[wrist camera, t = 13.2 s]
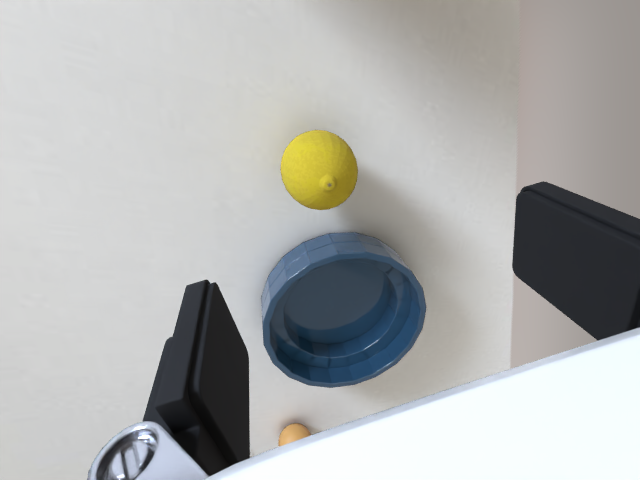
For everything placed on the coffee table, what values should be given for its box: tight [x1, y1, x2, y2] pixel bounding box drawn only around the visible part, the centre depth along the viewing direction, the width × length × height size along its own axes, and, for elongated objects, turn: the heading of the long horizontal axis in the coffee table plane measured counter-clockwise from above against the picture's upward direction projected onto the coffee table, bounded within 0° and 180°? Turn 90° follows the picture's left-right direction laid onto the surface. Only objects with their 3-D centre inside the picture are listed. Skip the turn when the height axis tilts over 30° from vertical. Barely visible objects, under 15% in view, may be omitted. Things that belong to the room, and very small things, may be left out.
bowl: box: [261, 232, 426, 388], centre depth 34 cm, size 15×15×4 cm
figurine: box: [279, 423, 311, 446], centre depth 38 cm, size 8×6×12 cm
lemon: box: [281, 130, 358, 210], centre depth 26 cm, size 6×6×8 cm
